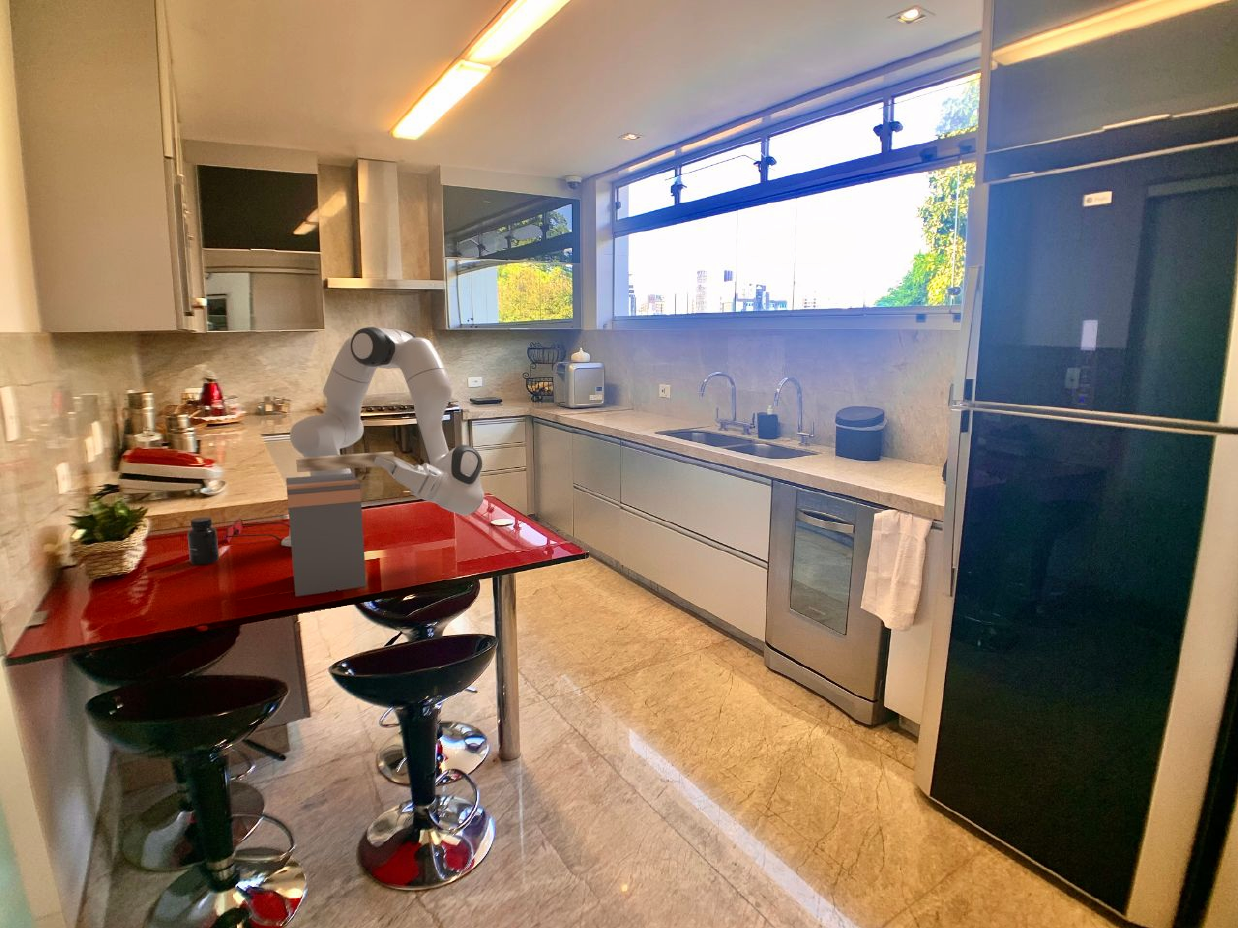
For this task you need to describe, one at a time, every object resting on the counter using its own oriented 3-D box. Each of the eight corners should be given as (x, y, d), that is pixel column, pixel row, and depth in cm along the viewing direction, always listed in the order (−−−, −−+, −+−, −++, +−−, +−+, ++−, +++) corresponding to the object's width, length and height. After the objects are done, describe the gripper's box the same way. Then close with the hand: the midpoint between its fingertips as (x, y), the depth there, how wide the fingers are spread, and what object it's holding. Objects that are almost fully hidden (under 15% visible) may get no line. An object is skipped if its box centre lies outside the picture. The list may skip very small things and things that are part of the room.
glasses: (239, 532, 215) (238, 516, 214) (295, 529, 218) (294, 514, 218) (223, 545, 202) (222, 529, 201) (283, 542, 205) (282, 526, 204)
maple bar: (392, 463, 172) (392, 451, 171) (394, 465, 169) (393, 453, 168) (296, 470, 162) (295, 457, 161) (297, 472, 159) (296, 459, 159)
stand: (359, 567, 183) (353, 472, 178) (366, 586, 169) (360, 484, 164) (293, 575, 176) (285, 477, 171) (295, 596, 162) (286, 490, 157)
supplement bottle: (186, 566, 182) (181, 523, 180) (195, 558, 188) (190, 516, 186) (215, 564, 184) (210, 521, 182) (222, 556, 190) (218, 515, 188)
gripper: (422, 463, 184) (374, 440, 177) (438, 477, 166) (385, 452, 159) (411, 483, 183) (362, 462, 177) (425, 500, 165) (372, 476, 159)
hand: (373, 457), depth 168 cm, fingers closed on maple bar, 3 cm apart
